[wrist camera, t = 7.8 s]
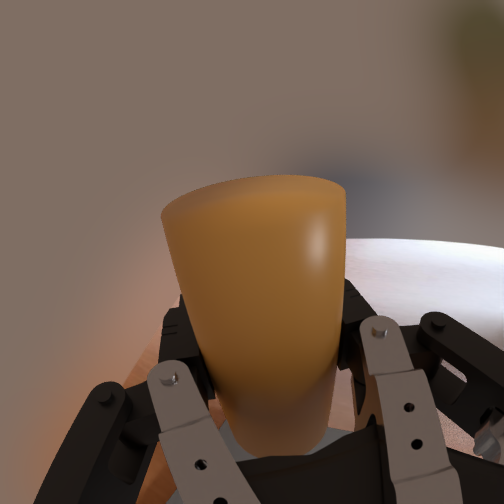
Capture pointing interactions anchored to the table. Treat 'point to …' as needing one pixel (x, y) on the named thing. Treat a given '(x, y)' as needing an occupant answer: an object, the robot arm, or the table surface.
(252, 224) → the orange and grey cylinder
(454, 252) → the table surface
